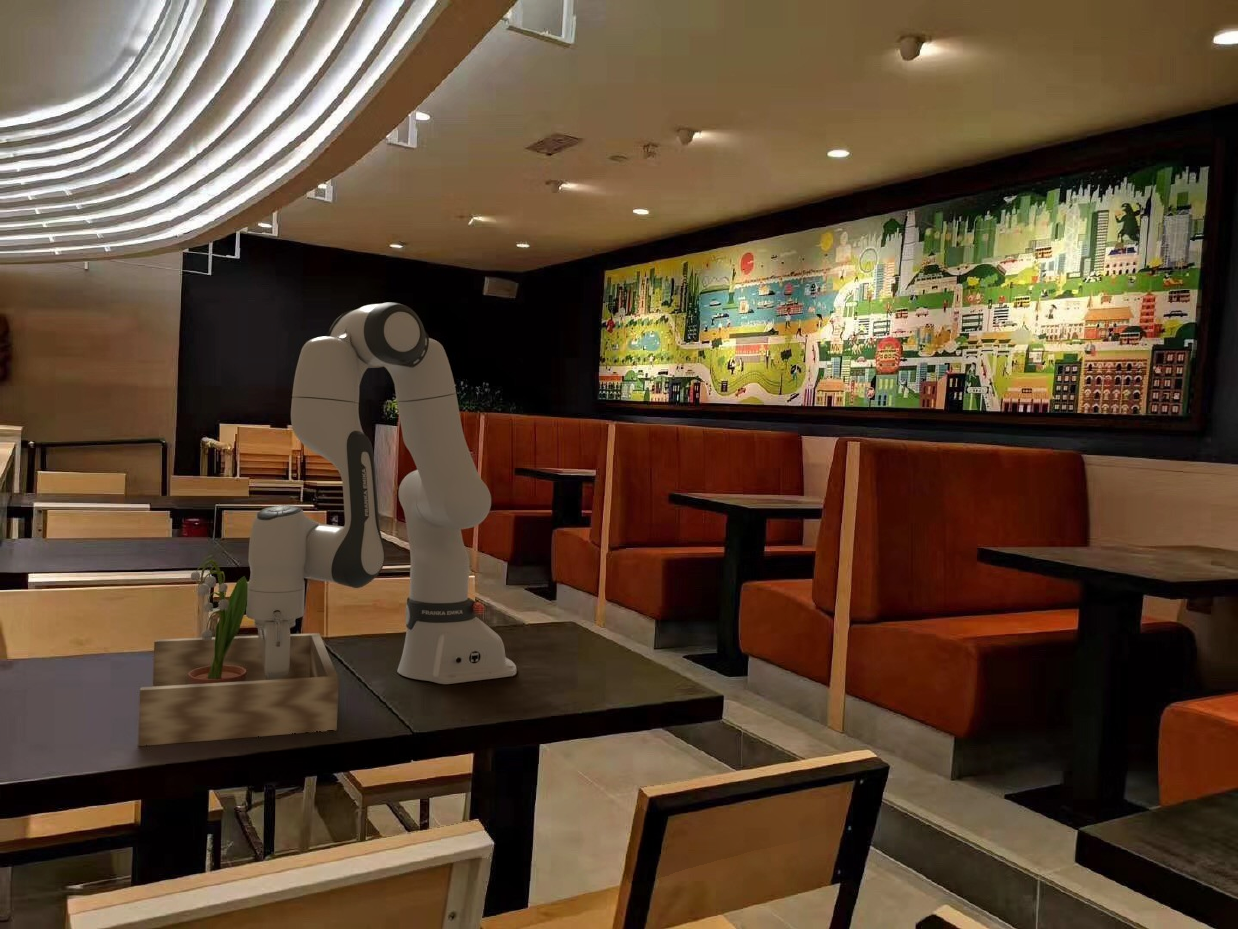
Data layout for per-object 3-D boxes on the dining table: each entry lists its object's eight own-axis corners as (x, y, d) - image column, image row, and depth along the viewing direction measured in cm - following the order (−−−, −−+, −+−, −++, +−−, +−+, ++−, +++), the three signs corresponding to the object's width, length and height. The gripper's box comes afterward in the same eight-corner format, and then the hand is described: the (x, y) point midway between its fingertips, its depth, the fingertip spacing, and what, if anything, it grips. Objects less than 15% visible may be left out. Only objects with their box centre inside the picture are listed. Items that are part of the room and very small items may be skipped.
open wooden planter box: (317, 676, 169) (319, 633, 168) (336, 730, 140) (338, 678, 140) (153, 685, 158) (154, 639, 158) (138, 746, 130) (139, 690, 129)
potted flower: (217, 723, 141) (222, 561, 140) (159, 716, 143) (165, 556, 142) (262, 701, 152) (267, 552, 151) (208, 695, 154) (213, 547, 153)
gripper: (301, 617, 142) (297, 706, 143) (291, 593, 161) (288, 671, 161) (257, 619, 140) (253, 709, 140) (252, 594, 158) (249, 673, 159)
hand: (272, 688), depth 151 cm, fingers closed
